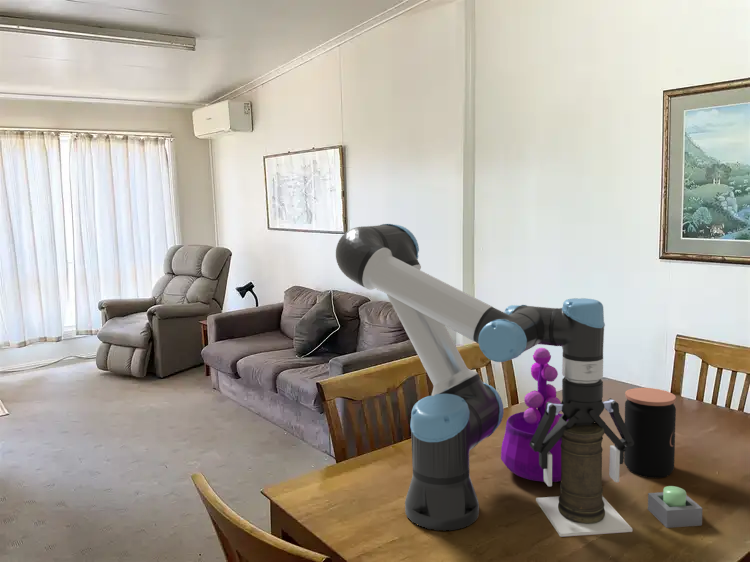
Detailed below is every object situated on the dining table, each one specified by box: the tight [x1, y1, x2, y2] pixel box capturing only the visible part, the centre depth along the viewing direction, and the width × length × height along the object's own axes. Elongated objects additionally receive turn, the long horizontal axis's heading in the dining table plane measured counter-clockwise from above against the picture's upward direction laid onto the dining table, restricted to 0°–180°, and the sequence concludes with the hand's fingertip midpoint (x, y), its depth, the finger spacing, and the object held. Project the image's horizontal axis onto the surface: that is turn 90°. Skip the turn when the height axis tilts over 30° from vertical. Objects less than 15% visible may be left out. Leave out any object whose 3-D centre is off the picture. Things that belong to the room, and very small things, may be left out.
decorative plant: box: [500, 347, 568, 483], centre depth 137 cm, size 19×18×30 cm
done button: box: [662, 485, 687, 507], centre depth 117 cm, size 4×4×4 cm
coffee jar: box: [623, 387, 677, 479], centre depth 138 cm, size 11×11×18 cm
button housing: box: [647, 491, 703, 529], centre depth 118 cm, size 7×7×4 cm
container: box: [558, 421, 605, 524], centre depth 118 cm, size 9×9×18 cm
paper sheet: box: [535, 495, 633, 537], centre depth 120 cm, size 14×14×1 cm
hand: (581, 481), depth 119 cm, fingers open, 13 cm apart
